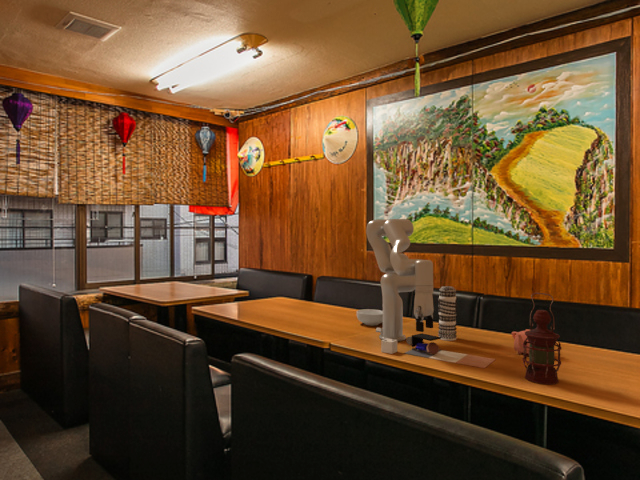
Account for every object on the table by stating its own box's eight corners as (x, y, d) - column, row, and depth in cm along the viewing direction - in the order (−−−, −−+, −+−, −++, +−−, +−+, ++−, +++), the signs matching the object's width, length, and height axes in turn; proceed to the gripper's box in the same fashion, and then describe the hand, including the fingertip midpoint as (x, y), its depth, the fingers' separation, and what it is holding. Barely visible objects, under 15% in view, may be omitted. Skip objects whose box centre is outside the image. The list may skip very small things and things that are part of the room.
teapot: (509, 348, 193) (510, 325, 193) (539, 350, 191) (539, 326, 191) (517, 357, 179) (517, 332, 179) (548, 359, 177) (548, 334, 177)
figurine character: (405, 352, 191) (431, 356, 178) (404, 334, 192) (430, 337, 179) (417, 349, 195) (443, 354, 182) (416, 332, 195) (441, 335, 182)
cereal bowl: (378, 328, 233) (378, 315, 233) (351, 325, 242) (351, 312, 242) (391, 323, 247) (391, 310, 247) (365, 320, 256) (365, 308, 256)
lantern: (568, 381, 151) (569, 293, 150) (550, 388, 144) (551, 296, 143) (533, 371, 161) (534, 289, 160) (515, 378, 154) (515, 292, 153)
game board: (404, 353, 184) (404, 352, 184) (418, 346, 196) (418, 346, 196) (484, 368, 165) (484, 367, 165) (495, 359, 176) (495, 359, 176)
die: (381, 352, 187) (381, 340, 187) (386, 349, 191) (386, 338, 191) (391, 354, 184) (391, 342, 184) (397, 351, 188) (397, 339, 188)
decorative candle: (439, 335, 217) (439, 285, 217) (458, 337, 213) (459, 286, 213) (435, 339, 209) (435, 287, 209) (455, 341, 205) (456, 288, 205)
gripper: (424, 287, 195) (424, 325, 195) (407, 290, 181) (407, 332, 181) (440, 287, 191) (441, 327, 190) (424, 291, 177) (424, 333, 177)
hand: (424, 329), depth 186 cm, fingers open, 9 cm apart
